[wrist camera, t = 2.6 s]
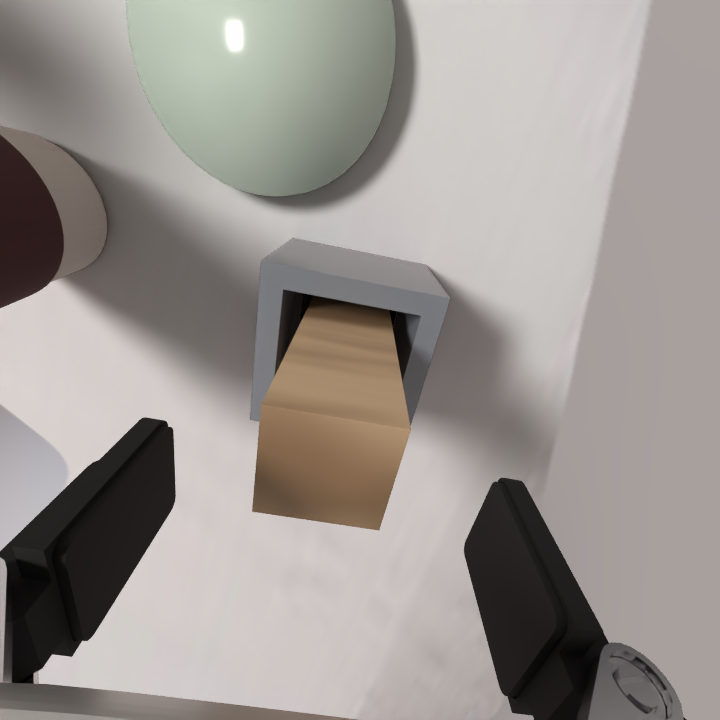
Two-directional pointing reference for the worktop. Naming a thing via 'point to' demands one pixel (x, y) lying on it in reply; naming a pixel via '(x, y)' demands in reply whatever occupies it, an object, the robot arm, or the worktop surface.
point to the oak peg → (333, 419)
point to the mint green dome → (266, 84)
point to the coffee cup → (44, 215)
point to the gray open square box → (351, 284)
